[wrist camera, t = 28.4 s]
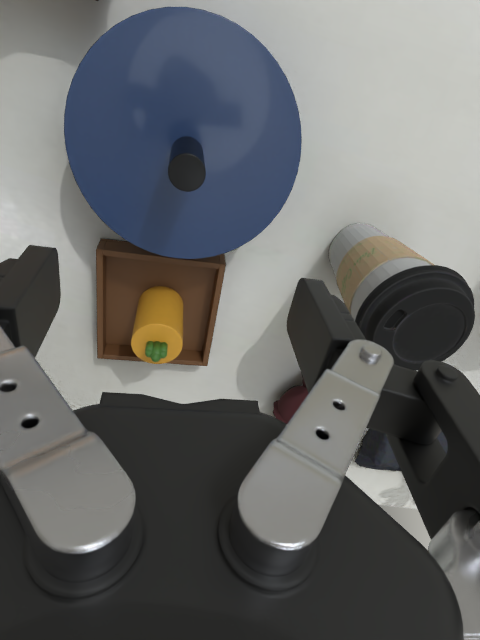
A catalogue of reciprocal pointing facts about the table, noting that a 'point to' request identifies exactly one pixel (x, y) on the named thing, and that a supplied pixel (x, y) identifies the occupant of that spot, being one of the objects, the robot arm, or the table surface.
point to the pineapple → (158, 326)
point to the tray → (146, 272)
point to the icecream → (290, 402)
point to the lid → (182, 132)
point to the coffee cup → (401, 296)
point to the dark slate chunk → (383, 451)
